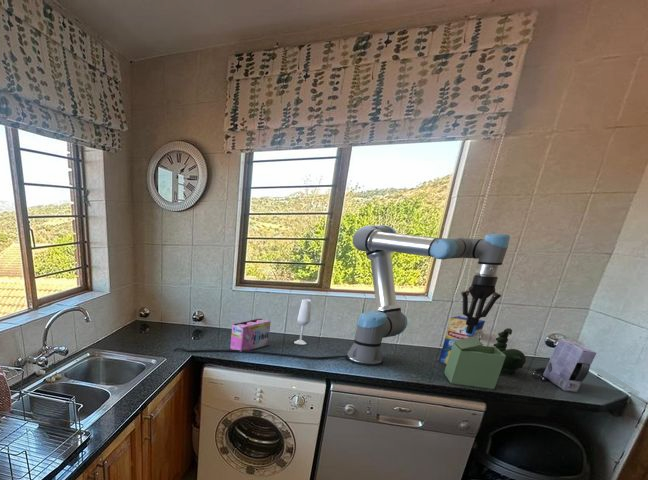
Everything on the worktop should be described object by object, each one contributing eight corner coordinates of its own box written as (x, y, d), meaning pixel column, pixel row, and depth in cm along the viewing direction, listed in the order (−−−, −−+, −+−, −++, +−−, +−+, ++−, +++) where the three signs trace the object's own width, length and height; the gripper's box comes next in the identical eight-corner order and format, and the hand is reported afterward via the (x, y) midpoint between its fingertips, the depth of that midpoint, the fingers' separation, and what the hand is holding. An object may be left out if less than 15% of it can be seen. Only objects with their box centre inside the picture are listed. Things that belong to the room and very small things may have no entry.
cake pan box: (580, 393, 161) (598, 352, 155) (564, 391, 163) (582, 350, 157) (555, 377, 178) (571, 339, 171) (541, 375, 180) (556, 337, 173)
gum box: (258, 341, 227) (261, 317, 222) (270, 344, 221) (273, 320, 216) (229, 348, 213) (231, 324, 208) (241, 352, 207) (243, 327, 202)
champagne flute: (291, 342, 225) (297, 299, 216) (297, 340, 229) (303, 298, 220) (302, 345, 220) (309, 301, 212) (308, 342, 225) (315, 300, 216)
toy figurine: (481, 363, 200) (500, 375, 178) (492, 325, 194) (513, 333, 172) (505, 366, 196) (527, 379, 174) (517, 327, 191) (541, 336, 169)
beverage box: (463, 368, 188) (477, 322, 180) (438, 361, 197) (450, 317, 189) (470, 366, 191) (485, 320, 183) (446, 359, 200) (458, 315, 192)
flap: (461, 349, 165) (461, 348, 165) (453, 341, 176) (453, 340, 176) (483, 345, 162) (483, 344, 162) (474, 337, 173) (474, 336, 173)
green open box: (450, 383, 171) (460, 350, 165) (443, 373, 182) (453, 342, 176) (494, 389, 165) (506, 355, 160) (484, 378, 176) (495, 346, 171)
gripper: (468, 275, 158) (452, 333, 167) (510, 277, 153) (490, 336, 162) (463, 273, 165) (448, 329, 173) (503, 275, 160) (485, 332, 168)
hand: (468, 332), depth 168 cm, fingers closed
